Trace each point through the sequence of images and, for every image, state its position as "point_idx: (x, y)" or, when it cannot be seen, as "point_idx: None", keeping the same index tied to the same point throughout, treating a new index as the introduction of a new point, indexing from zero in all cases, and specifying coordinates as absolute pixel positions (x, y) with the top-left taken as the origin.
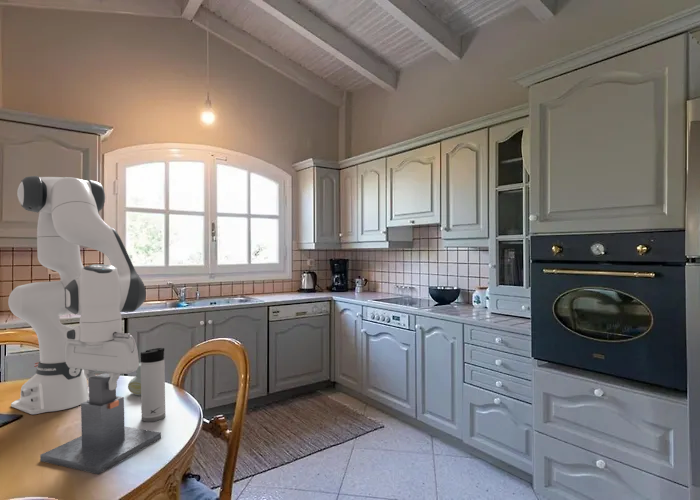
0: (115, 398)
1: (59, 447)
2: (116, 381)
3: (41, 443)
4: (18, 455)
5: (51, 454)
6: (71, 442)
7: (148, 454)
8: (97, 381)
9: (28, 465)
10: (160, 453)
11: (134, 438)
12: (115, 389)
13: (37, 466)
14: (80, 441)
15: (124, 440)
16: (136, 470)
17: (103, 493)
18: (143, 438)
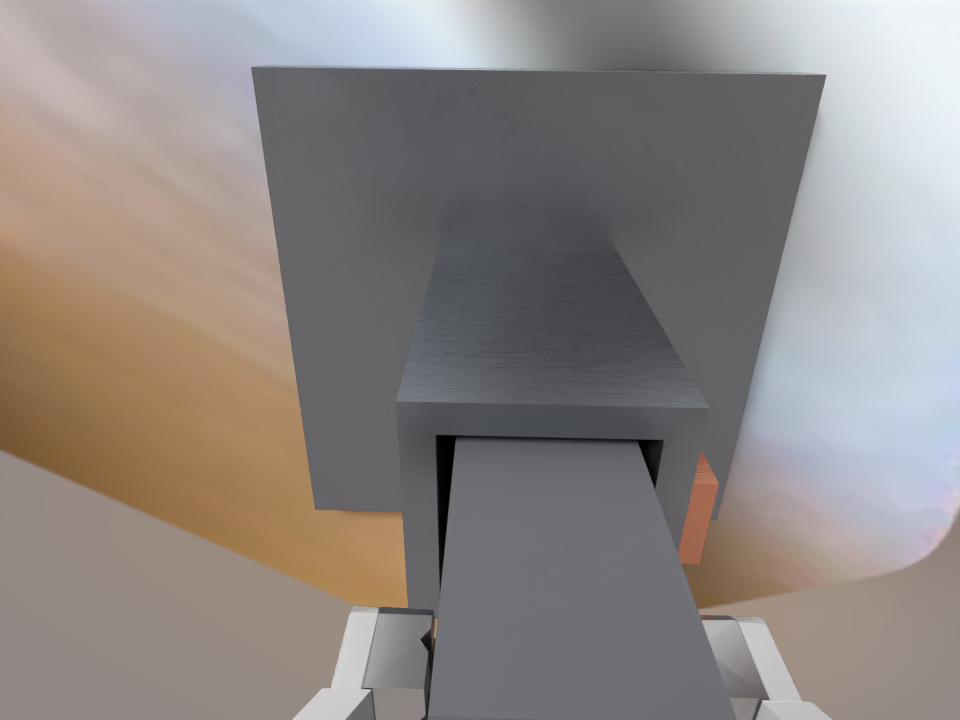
0: (642, 462)
1: (323, 437)
2: (801, 699)
3: (94, 361)
4: (153, 477)
5: (366, 494)
6: (321, 377)
7: (845, 290)
8: None
9: (313, 521)
10: (918, 260)
11: (680, 224)
12: (666, 530)
13: (362, 517)
14: (361, 355)
15: (630, 267)
16: (875, 432)
17: (836, 579)
18: (747, 206)
